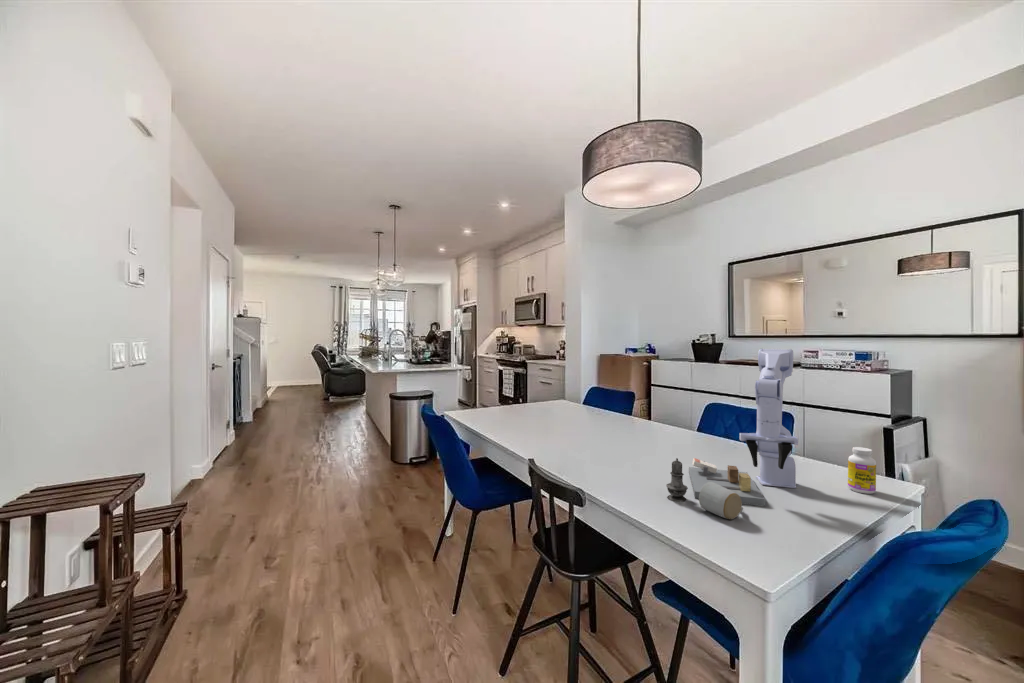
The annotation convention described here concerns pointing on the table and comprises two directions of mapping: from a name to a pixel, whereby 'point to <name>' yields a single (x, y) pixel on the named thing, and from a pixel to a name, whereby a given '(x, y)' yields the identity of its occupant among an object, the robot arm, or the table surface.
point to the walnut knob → (733, 474)
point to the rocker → (700, 464)
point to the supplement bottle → (862, 471)
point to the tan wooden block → (744, 482)
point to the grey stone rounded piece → (677, 483)
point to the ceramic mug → (720, 501)
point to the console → (724, 485)
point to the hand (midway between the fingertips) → (767, 467)
